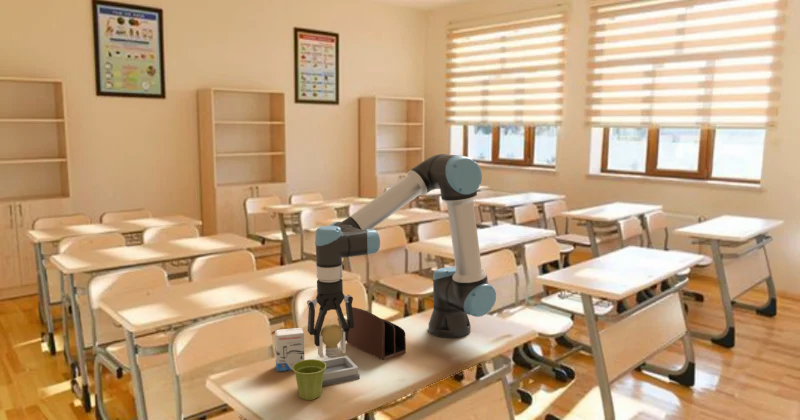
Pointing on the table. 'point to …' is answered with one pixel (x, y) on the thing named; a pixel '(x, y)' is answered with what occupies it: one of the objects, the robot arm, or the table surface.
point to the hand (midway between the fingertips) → (331, 353)
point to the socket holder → (339, 370)
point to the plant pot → (309, 378)
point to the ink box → (289, 348)
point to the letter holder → (376, 335)
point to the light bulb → (331, 339)
